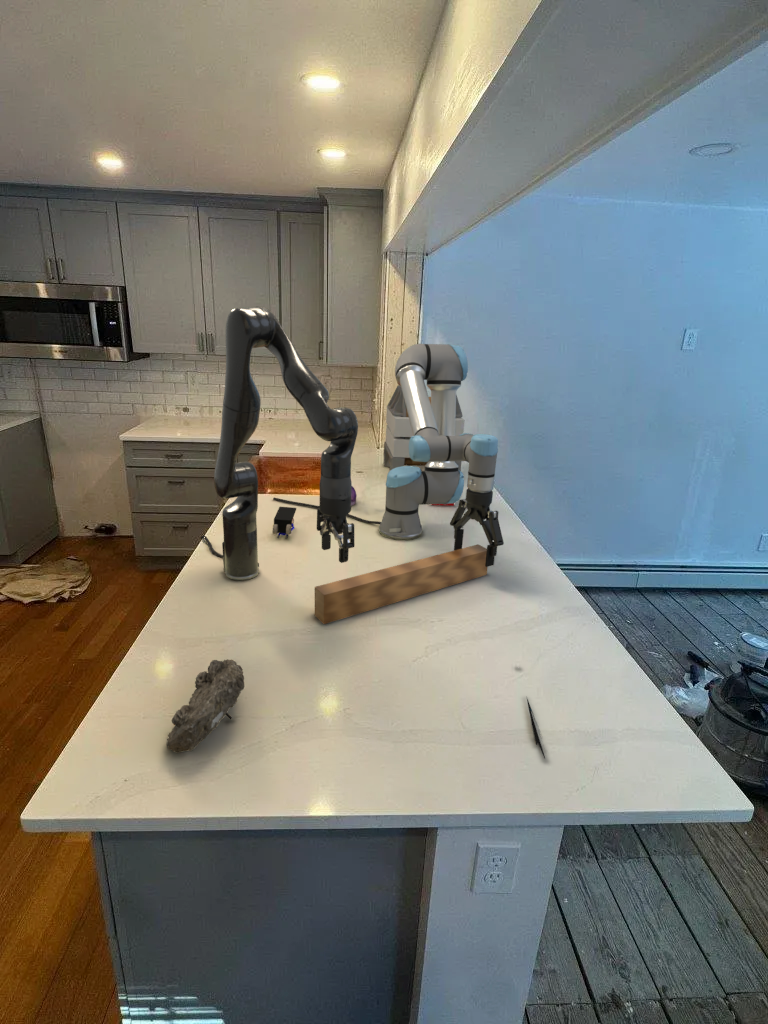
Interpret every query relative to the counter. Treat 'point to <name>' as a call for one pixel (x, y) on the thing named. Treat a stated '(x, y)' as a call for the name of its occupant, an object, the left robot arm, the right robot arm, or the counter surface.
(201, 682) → the fossil
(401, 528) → the right robot arm
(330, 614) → the beam
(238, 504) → the left robot arm
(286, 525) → the figurine character
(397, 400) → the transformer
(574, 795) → the counter surface
